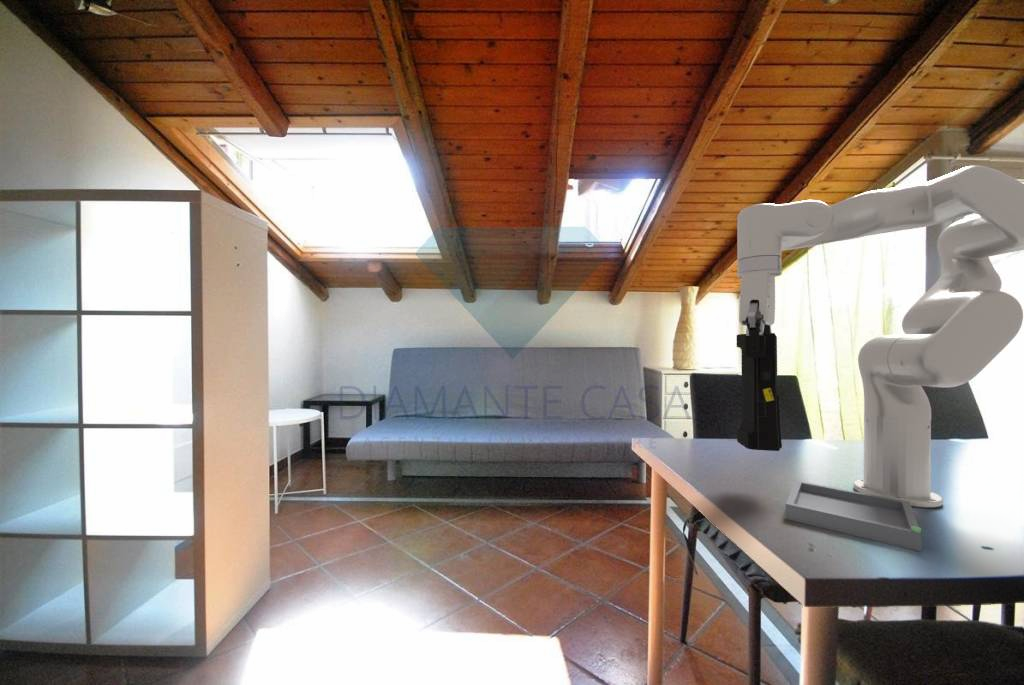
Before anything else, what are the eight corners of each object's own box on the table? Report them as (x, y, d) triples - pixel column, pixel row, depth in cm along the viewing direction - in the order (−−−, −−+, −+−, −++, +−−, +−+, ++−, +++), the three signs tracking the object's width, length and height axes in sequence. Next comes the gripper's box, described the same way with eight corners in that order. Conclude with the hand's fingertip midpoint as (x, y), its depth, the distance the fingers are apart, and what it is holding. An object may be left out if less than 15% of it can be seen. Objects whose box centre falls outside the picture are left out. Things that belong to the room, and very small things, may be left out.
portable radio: (786, 453, 75) (785, 320, 75) (750, 451, 76) (750, 320, 76) (768, 442, 83) (767, 322, 83) (736, 441, 84) (736, 322, 84)
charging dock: (795, 493, 79) (796, 477, 79) (909, 516, 69) (909, 498, 69) (785, 518, 67) (785, 500, 67) (921, 551, 57) (921, 529, 57)
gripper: (746, 276, 89) (746, 355, 89) (727, 264, 76) (728, 357, 75) (787, 272, 84) (787, 356, 84) (774, 258, 71) (775, 358, 71)
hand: (759, 356), depth 80 cm, fingers closed on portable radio, 8 cm apart
